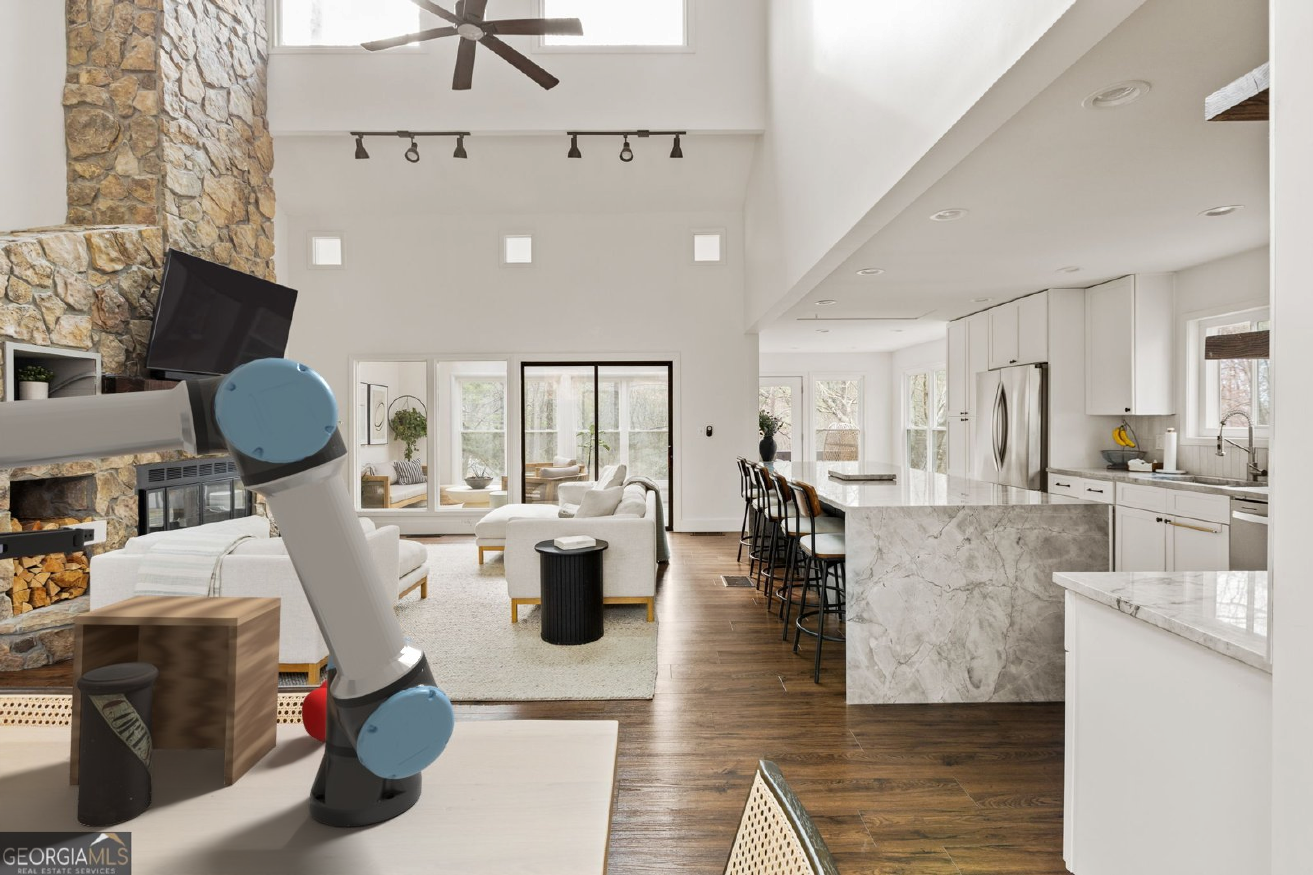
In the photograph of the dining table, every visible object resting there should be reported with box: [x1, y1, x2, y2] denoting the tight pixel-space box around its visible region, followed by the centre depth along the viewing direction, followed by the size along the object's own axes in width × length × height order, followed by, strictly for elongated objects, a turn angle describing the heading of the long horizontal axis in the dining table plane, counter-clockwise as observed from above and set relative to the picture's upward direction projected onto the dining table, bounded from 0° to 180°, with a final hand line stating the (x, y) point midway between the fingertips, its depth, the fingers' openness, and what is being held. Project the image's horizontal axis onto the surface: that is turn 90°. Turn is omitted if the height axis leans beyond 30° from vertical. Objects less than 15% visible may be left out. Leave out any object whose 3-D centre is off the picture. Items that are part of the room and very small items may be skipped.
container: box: [76, 662, 159, 827], centre depth 94 cm, size 9×9×20 cm
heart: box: [301, 679, 327, 742], centre depth 117 cm, size 12×5×10 cm, turn 3°
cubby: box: [68, 595, 282, 787], centre depth 108 cm, size 23×13×25 cm, turn 94°
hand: (48, 529), depth 87 cm, fingers open, 13 cm apart
